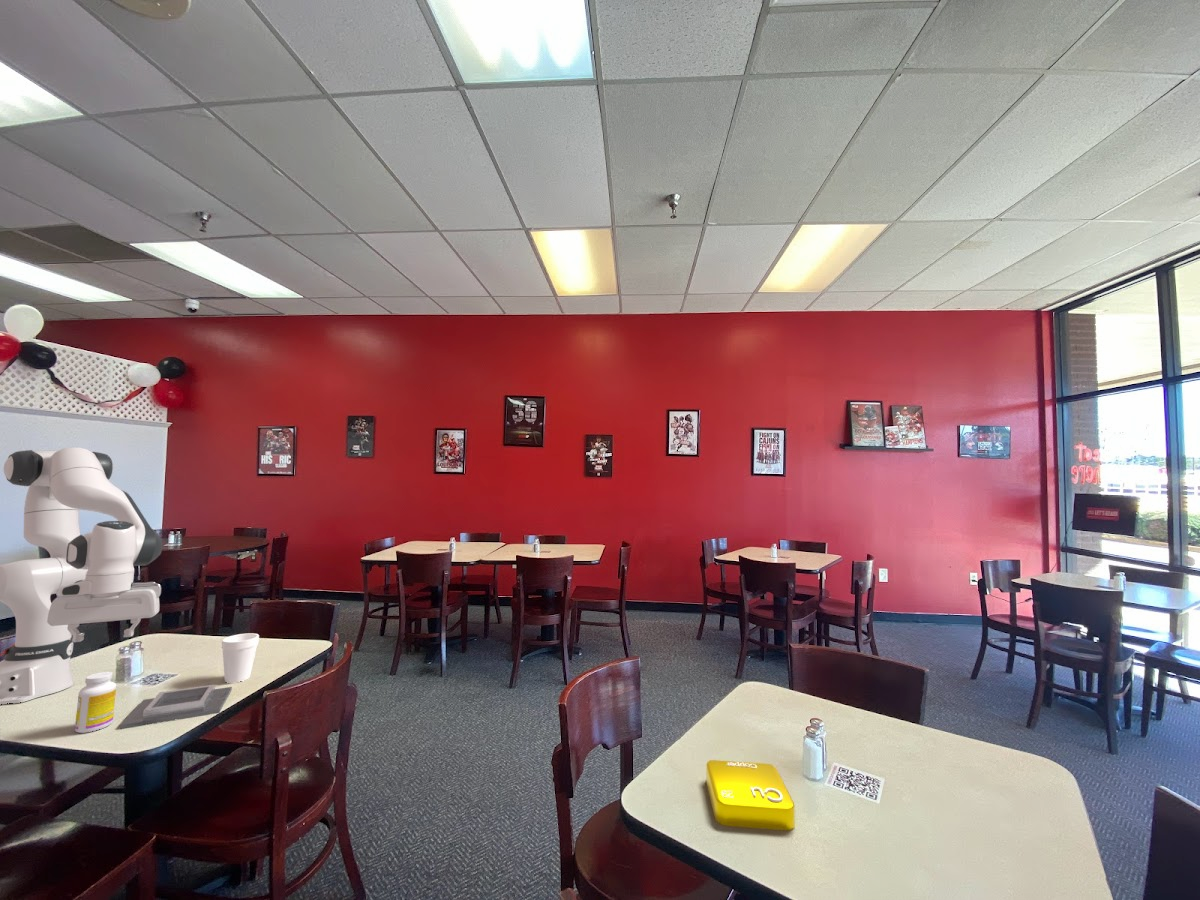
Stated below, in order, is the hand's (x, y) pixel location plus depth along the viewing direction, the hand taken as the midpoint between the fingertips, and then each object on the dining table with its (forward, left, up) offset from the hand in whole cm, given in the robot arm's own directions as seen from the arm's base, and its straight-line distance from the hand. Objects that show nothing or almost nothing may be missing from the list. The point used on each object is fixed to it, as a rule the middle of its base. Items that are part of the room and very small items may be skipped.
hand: (103, 638), depth 121 cm
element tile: (+128, -97, -23) cm, 162 cm away
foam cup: (+26, +21, -22) cm, 40 cm away
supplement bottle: (0, 0, -22) cm, 22 cm away
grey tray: (+16, +4, -22) cm, 27 cm away
